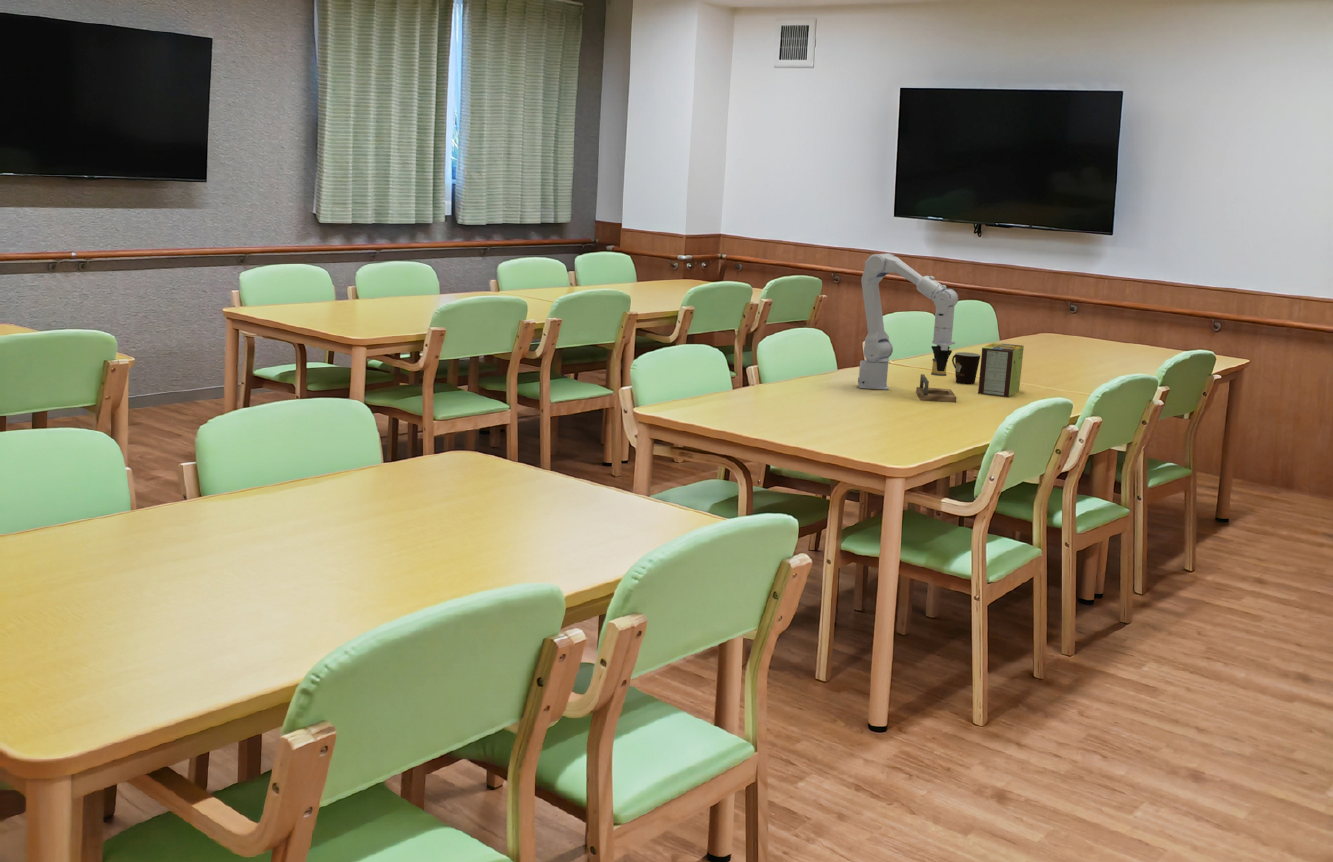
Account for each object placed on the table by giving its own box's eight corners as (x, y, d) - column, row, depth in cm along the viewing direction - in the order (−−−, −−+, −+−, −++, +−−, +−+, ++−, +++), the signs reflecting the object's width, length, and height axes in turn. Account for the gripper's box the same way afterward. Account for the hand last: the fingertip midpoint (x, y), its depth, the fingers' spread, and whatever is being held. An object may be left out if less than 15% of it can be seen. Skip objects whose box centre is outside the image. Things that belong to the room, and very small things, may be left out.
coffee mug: (980, 385, 413) (983, 356, 411) (955, 384, 413) (957, 355, 411) (972, 379, 425) (975, 351, 423) (948, 378, 425) (950, 350, 423)
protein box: (1019, 391, 406) (1024, 345, 403) (1009, 397, 393) (1013, 350, 389) (988, 387, 411) (992, 342, 407) (977, 393, 397) (981, 347, 394)
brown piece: (920, 400, 381) (922, 381, 380) (916, 391, 396) (917, 373, 394) (956, 402, 380) (957, 383, 379) (950, 393, 395) (951, 375, 393)
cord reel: (932, 375, 384) (934, 359, 383) (929, 373, 388) (931, 358, 388) (947, 376, 384) (949, 360, 383) (944, 374, 388) (946, 359, 387)
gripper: (959, 331, 376) (955, 374, 378) (953, 325, 390) (949, 366, 392) (936, 329, 376) (932, 372, 379) (931, 324, 390) (927, 365, 393)
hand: (939, 369), depth 386 cm, fingers closed on cord reel, 5 cm apart
